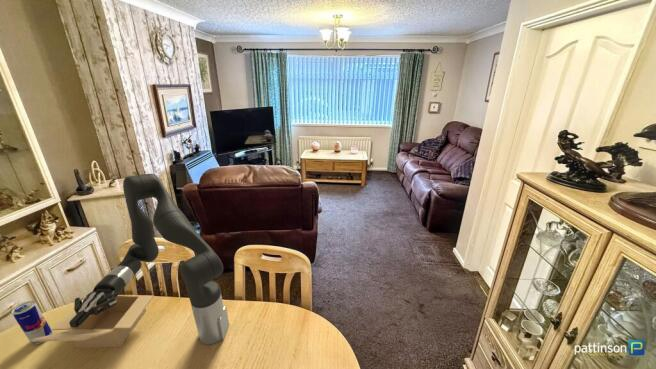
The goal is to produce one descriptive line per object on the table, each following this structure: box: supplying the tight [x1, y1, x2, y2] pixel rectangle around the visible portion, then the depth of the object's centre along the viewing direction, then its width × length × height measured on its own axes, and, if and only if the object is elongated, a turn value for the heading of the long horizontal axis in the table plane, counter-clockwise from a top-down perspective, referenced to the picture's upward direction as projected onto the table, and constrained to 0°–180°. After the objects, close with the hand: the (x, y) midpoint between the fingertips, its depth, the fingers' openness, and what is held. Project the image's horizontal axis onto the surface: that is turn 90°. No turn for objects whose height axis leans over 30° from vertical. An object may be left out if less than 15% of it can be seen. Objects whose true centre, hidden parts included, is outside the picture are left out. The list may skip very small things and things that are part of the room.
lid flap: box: [29, 330, 113, 343], centre depth 75 cm, size 14×11×1 cm
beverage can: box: [11, 300, 53, 345], centre depth 83 cm, size 5×5×15 cm
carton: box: [52, 294, 155, 348], centre depth 88 cm, size 24×14×8 cm, turn 93°
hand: (72, 325), depth 75 cm, fingers closed
